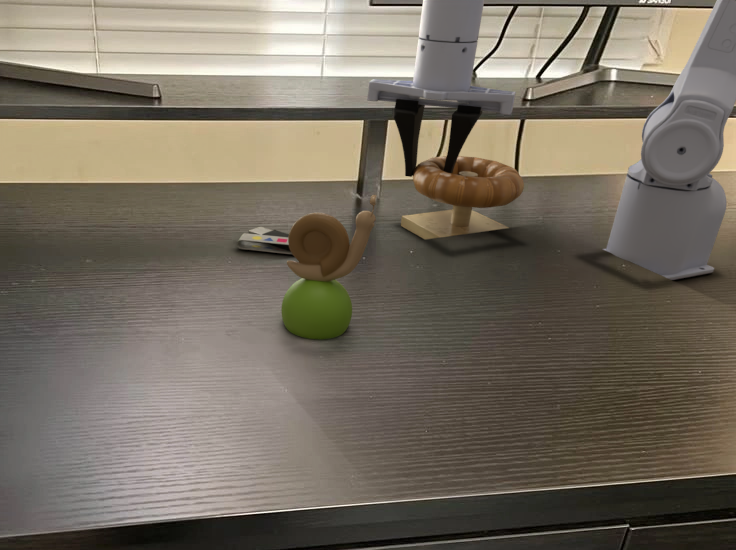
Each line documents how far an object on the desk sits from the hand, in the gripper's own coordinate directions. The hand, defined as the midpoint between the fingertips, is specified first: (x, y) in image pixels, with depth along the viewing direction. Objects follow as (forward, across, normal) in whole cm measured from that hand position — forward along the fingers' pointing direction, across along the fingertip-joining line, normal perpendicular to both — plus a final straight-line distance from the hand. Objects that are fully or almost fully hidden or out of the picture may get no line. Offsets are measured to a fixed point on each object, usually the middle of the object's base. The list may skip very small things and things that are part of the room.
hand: (427, 176), depth 80 cm
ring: (0, +4, 0) cm, 4 cm away
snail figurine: (+6, -2, -30) cm, 31 cm away
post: (+6, +4, 0) cm, 7 cm away
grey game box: (+6, -12, -13) cm, 19 cm away
